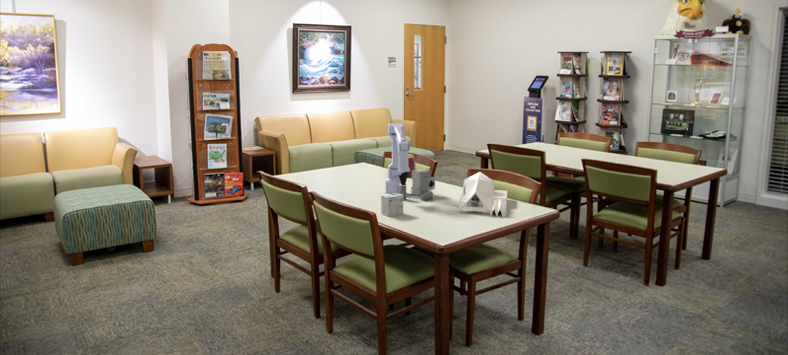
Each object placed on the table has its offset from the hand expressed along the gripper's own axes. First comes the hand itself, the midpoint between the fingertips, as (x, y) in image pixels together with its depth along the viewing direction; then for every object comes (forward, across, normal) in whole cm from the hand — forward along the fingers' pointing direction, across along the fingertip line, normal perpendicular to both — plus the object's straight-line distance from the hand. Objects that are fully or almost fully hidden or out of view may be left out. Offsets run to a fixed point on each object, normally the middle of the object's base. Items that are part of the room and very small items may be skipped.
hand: (403, 185), depth 332 cm
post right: (+8, +8, -10) cm, 15 cm away
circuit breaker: (+11, +23, -5) cm, 26 cm away
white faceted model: (+11, +10, -47) cm, 49 cm away
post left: (+10, +7, +3) cm, 13 cm away
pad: (+10, +15, -2) cm, 18 cm away
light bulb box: (+11, -26, -4) cm, 28 cm away
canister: (+11, +74, +27) cm, 79 cm away
